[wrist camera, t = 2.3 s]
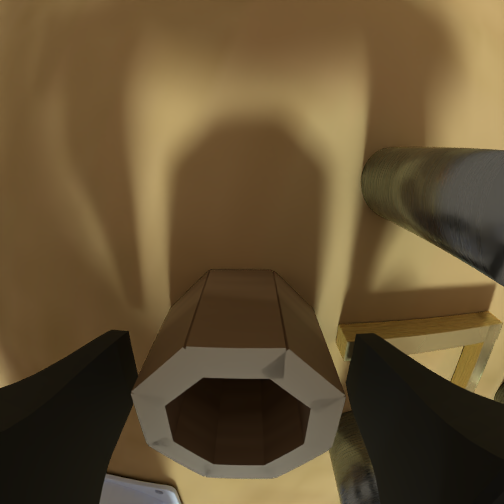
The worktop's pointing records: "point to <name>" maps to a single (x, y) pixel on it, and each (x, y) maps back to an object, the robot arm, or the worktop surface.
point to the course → (450, 240)
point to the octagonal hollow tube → (239, 379)
